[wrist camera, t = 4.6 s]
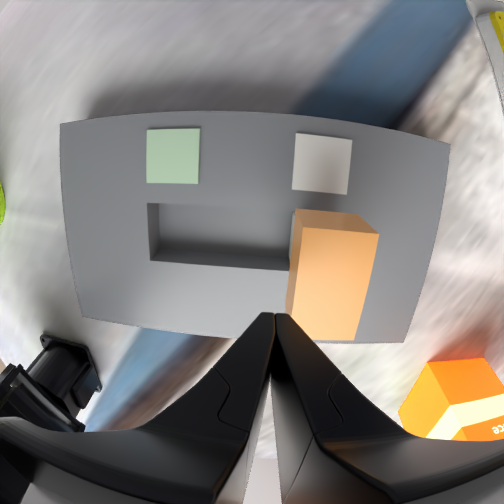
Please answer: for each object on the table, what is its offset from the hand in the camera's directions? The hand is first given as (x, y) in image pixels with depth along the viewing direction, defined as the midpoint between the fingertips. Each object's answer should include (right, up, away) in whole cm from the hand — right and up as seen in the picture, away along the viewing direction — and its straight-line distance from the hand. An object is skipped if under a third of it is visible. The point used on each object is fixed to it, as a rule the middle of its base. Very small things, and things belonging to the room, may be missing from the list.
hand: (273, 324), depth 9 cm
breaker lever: (+3, +3, +9) cm, 10 cm away
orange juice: (+20, -12, +16) cm, 28 cm away
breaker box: (-1, +4, +11) cm, 11 cm away
